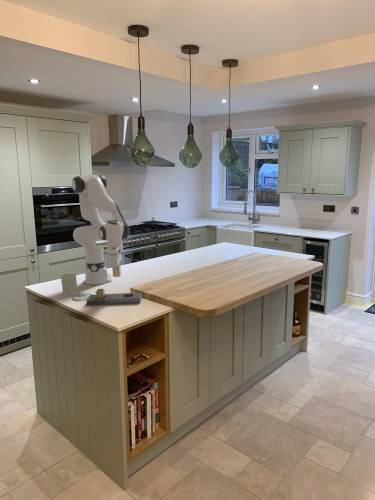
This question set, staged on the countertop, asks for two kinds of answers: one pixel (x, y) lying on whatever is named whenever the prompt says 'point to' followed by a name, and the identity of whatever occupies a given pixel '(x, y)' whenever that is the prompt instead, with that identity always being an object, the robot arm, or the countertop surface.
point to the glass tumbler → (69, 284)
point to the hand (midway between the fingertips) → (116, 270)
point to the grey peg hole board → (115, 299)
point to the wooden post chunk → (117, 272)
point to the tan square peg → (100, 293)
